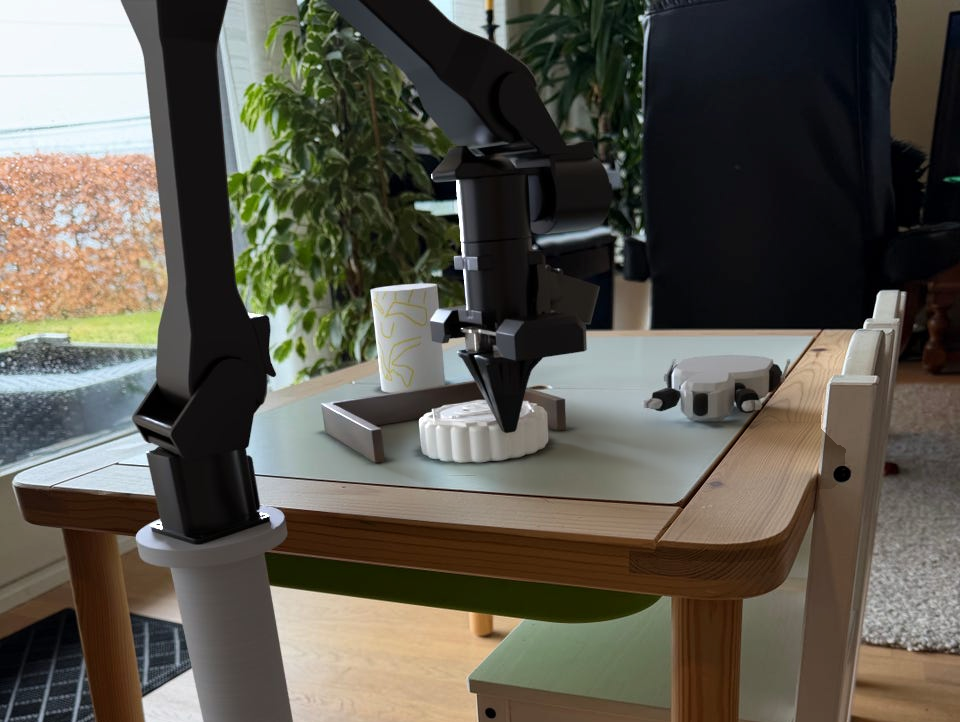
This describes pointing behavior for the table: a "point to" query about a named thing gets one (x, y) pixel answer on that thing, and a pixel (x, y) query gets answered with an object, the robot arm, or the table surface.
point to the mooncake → (480, 433)
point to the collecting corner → (412, 413)
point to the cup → (407, 337)
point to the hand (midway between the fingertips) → (509, 431)
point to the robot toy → (717, 385)
